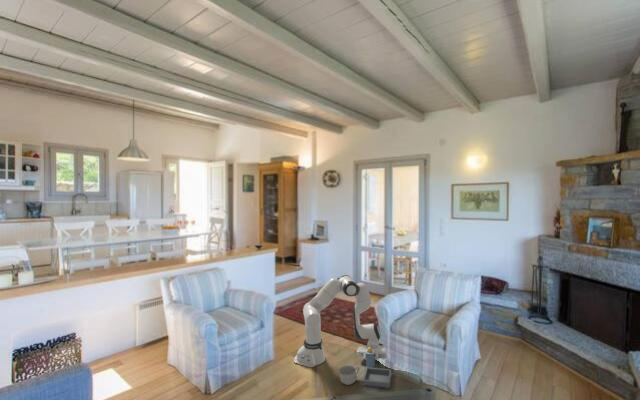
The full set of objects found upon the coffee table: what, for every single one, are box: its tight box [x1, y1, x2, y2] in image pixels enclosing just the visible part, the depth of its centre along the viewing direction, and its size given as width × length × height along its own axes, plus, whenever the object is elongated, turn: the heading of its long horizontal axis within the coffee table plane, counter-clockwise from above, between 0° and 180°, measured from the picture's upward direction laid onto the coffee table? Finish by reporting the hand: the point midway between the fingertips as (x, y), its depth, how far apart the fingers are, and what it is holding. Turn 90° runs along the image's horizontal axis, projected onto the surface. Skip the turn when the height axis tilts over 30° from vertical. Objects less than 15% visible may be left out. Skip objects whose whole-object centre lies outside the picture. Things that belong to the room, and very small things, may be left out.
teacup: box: [338, 364, 360, 386], centre depth 199 cm, size 14×11×8 cm
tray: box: [362, 366, 393, 390], centre depth 198 cm, size 16×14×4 cm
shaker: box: [365, 350, 376, 368], centre depth 213 cm, size 5×5×10 cm
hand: (370, 359), depth 212 cm, fingers closed on shaker, 5 cm apart
